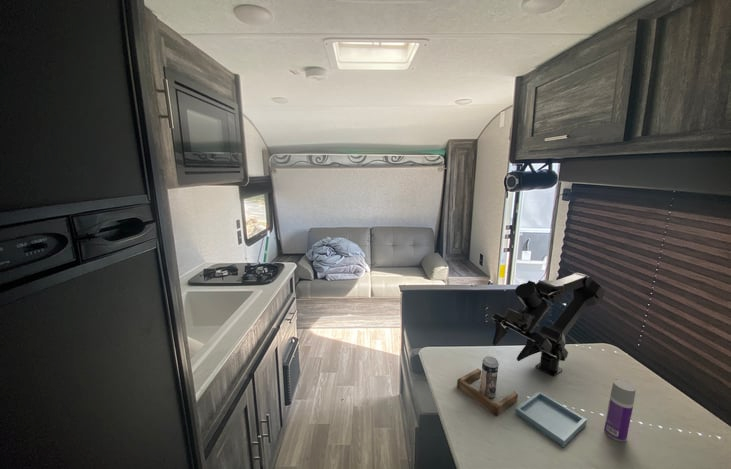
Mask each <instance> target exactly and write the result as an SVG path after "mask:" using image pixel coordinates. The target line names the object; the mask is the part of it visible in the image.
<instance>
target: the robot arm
mask: <svg viewBox="0 0 731 469" xmlns="http://www.w3.org/2000/svg"><path fill="white" fill-rule="evenodd" d="M592 278H593V277H591V276H589V275H587V274H583V273H580V272H574V273H572V274H570V275H568V276H565V277H562V278H560V279H559V278H558V279H557V280H549V279H548V280H547V279H544V280H539V281H537V283H536V282H535V281H532V280H528V281H527V282H523V283H521V284H518V285H517V286H516V288H515V295H516V297H517V298H518V299H519V301H520V302H522V304H523V305H524V307H523V309H521V308H519V309H518V311H516V310H513V309H511V308H507V310H506V313H505V315H503V314H500V313H499V312H497V313H494V314H493V315H492V316H491V319H492V320H493V323H494V324H495V331H494V335H493V340H492V345H493V346H496V345H498V343H500V341H501V340H502V339H504V337H505V336H507V334H508V331H507V330H512V331H514V332H516V333H517V334H520V335H521V336H523V337H525V338H527V340H526V344H525V345H524V347H522V350H521V351H520V352H519V353H518V354H517V357H516V361H517V362H520V361H522V360H524V359H526V358H528V357H530V356H532V355H535V354H537V353H540V360H539V363H537V364H535V366H534V367H535V368H536V369H539V370H540V371H542V372H545V373H546V374H548V375H550V376H552V377H555V376H556V375H558V374H559V373H561V372H563V368H561V367H559V366H560V362H561V361H562V362H565V361H566V359H567V358H568V354H569V351H568V349H566V348H565V346H566V335H568V333H569V332H570V330H571V329H572V327H574V325H575V324H576V322H577V321H578V320H579V318H580V317H581V316H582V314H583V313H584V311H585V310H586V309H587V308H589V307H591V306H595V305H597V304H598V303H599V302H600V301H601V300H602V299H603V298H604V297H605V290H604V288H603V287H602V285H600V284H599V283H598V282H597V281H595V280H593V279H592ZM572 291H573V292H572ZM569 292H572V296H573V298H572V299H571V301H570V302H569V303H568V304H567V306H566V307H565V308H564V310H562V312H561V314H559V316H558V317H557V319H556V320H554V323H552V325H551V326H547V325H543V326H542V327H541V329H540V330H539V331H538V332H537V331H534V330H535V328H536V327H540V326H541V323H540V321H541V320H542V319H543V317H544V316H545V314H547V312H548V313H551V310H552V309H551V306H550V305H551V304H550V303H548V302H551V303H554V304H555V303H557V302H559V301H561V300H562V299H563V298H564V295H565V294H566V293H569ZM547 301H548V302H547Z"/></svg>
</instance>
